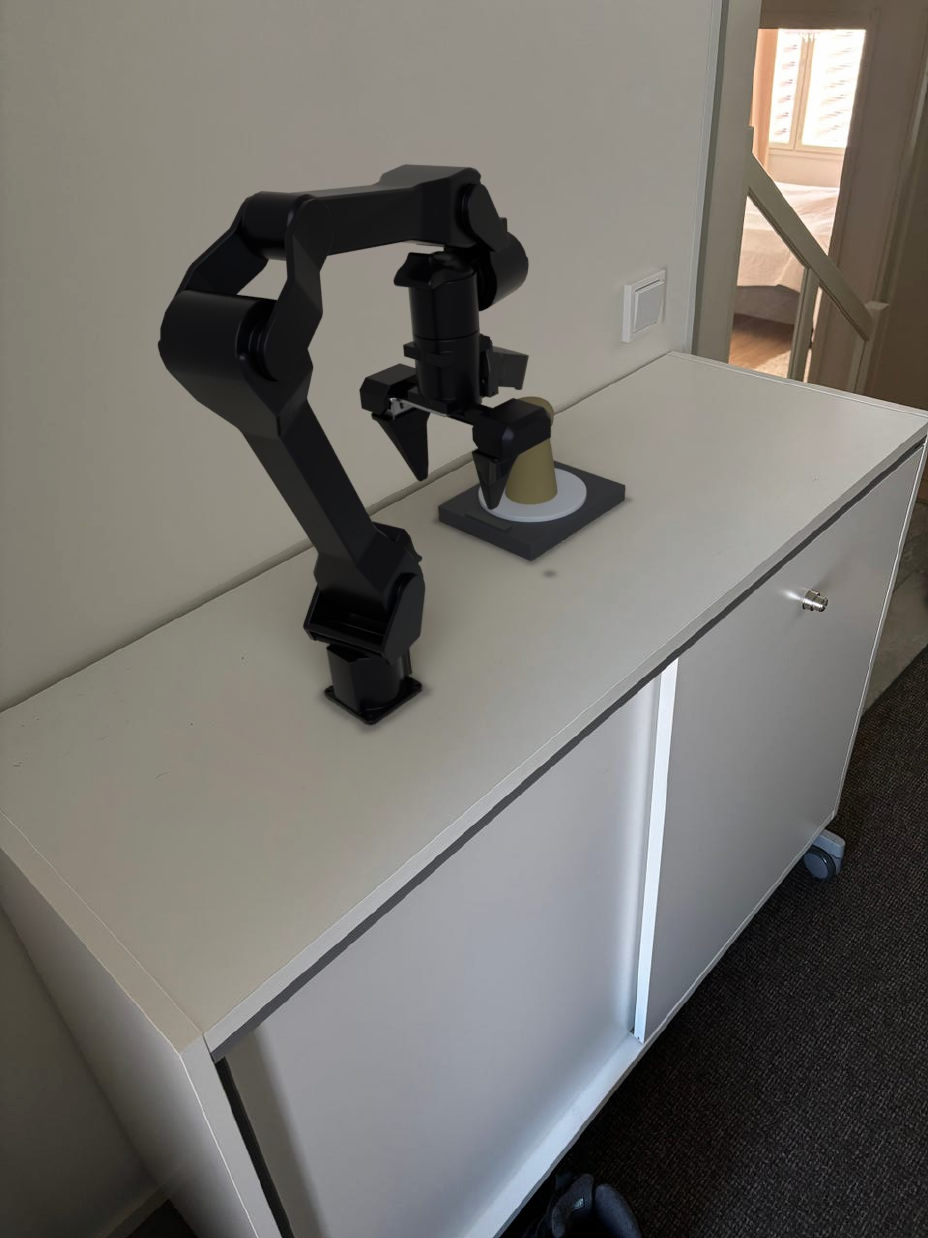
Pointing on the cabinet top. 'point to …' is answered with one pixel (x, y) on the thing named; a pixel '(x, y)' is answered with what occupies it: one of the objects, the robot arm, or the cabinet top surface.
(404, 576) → the robot arm
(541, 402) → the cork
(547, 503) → the scale
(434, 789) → the cabinet top surface
